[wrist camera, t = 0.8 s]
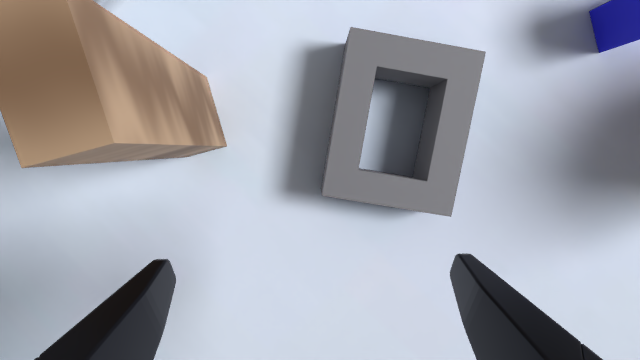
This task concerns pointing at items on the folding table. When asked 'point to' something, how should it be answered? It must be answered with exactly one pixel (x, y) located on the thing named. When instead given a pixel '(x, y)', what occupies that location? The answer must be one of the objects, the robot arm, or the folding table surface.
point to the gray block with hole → (438, 127)
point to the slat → (96, 89)
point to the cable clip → (616, 23)
